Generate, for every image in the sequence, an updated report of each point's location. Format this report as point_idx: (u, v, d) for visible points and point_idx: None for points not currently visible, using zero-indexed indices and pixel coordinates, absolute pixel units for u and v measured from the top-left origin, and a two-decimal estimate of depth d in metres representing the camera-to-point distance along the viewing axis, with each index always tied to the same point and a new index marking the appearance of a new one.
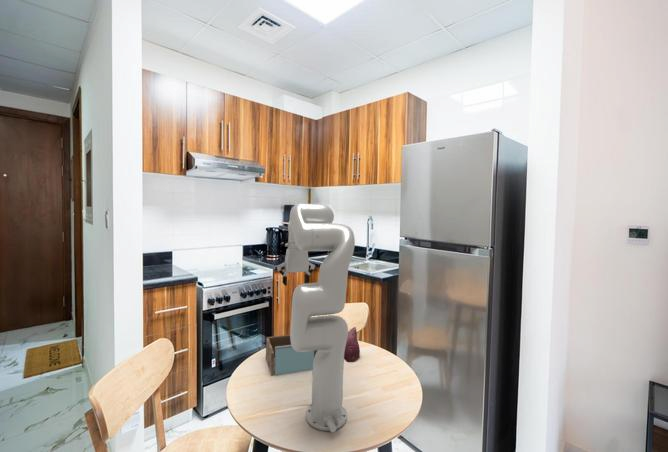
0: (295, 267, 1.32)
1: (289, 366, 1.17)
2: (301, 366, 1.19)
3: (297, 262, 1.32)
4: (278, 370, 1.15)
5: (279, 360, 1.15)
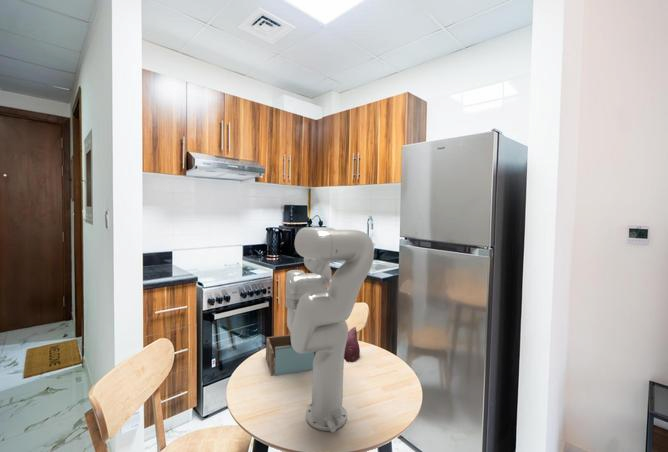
0: None
1: (289, 366, 1.17)
2: (301, 366, 1.18)
3: None
4: (278, 370, 1.15)
5: (279, 360, 1.15)
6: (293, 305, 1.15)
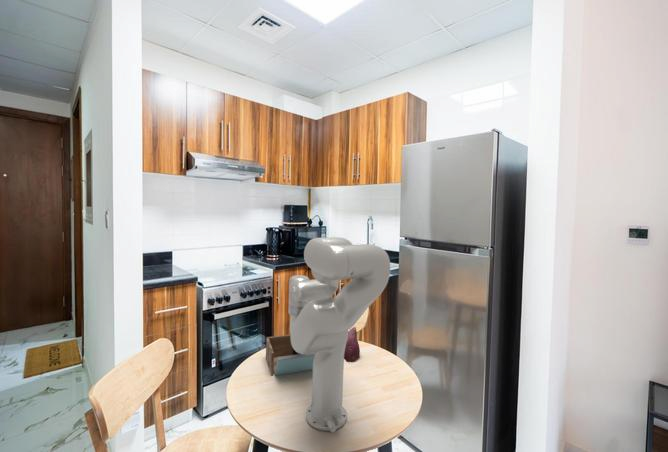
0: None
1: (290, 369, 1.15)
2: (302, 368, 1.18)
3: None
4: (278, 372, 1.15)
5: (280, 366, 1.13)
6: (296, 312, 1.10)
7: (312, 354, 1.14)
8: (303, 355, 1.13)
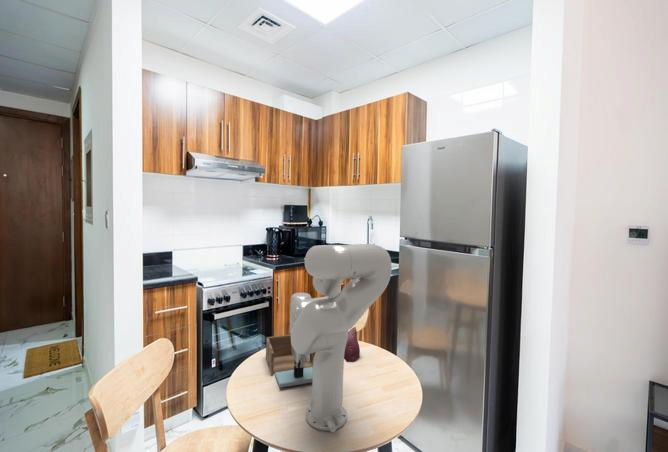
0: None
1: None
2: None
3: None
4: None
5: None
6: None
7: None
8: (306, 382, 1.08)
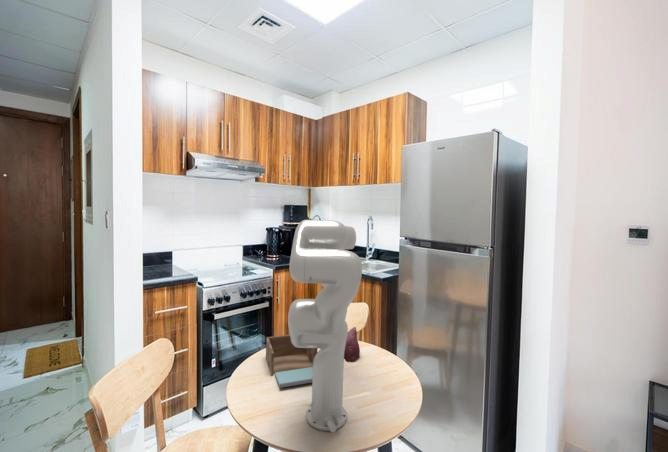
0: None
1: None
2: None
3: None
4: None
5: None
6: None
7: None
8: (306, 382, 1.08)
